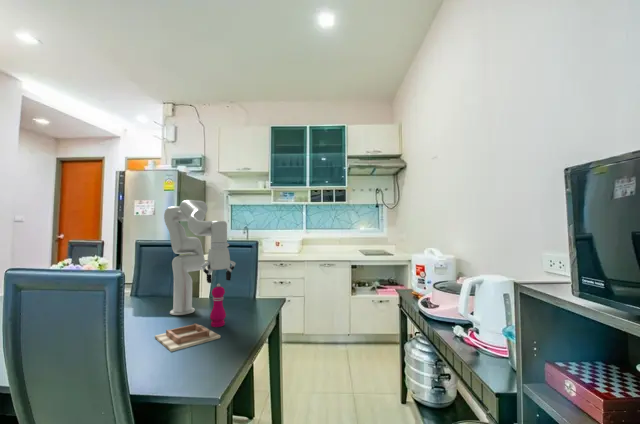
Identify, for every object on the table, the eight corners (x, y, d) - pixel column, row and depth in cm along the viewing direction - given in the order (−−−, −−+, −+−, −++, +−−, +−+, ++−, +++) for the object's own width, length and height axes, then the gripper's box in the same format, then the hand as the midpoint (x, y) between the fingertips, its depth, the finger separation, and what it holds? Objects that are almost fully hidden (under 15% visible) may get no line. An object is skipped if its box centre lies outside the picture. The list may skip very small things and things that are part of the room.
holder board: (154, 337, 130) (154, 330, 130) (201, 327, 144) (201, 320, 144) (170, 351, 115) (171, 343, 116) (220, 338, 129) (220, 330, 129)
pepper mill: (220, 328, 142) (221, 285, 143) (206, 327, 144) (207, 284, 144) (228, 323, 149) (228, 282, 150) (215, 322, 151) (215, 281, 152)
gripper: (231, 245, 157) (231, 278, 156) (198, 246, 145) (198, 283, 144) (238, 245, 151) (239, 280, 150) (205, 247, 139) (204, 284, 138)
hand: (219, 281), depth 147 cm, fingers open, 9 cm apart
